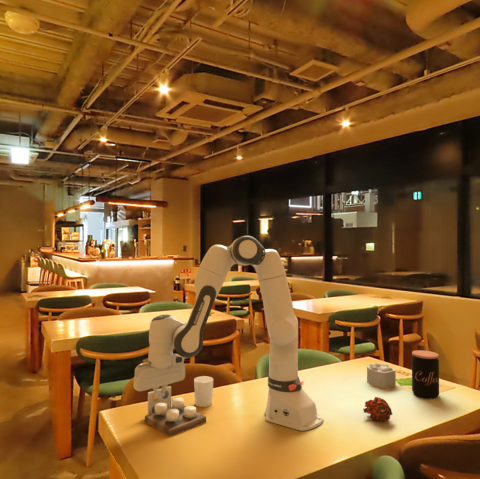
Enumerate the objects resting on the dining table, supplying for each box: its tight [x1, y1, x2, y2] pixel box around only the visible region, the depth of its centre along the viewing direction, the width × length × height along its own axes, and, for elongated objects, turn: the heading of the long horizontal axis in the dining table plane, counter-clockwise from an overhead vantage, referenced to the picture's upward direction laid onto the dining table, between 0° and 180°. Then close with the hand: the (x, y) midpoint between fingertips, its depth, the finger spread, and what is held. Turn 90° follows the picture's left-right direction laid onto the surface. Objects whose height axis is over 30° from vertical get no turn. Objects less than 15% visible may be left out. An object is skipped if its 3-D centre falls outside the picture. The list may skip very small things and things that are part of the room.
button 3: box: [171, 397, 185, 409], centre depth 150 cm, size 4×4×2 cm
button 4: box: [155, 403, 167, 415], centre depth 145 cm, size 4×4×2 cm
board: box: [144, 405, 207, 437], centre depth 145 cm, size 16×16×2 cm
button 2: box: [166, 409, 179, 421], centre depth 139 cm, size 4×4×2 cm
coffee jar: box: [411, 349, 440, 400], centre depth 172 cm, size 11×11×18 cm
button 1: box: [184, 405, 197, 418], centre depth 145 cm, size 4×4×2 cm
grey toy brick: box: [366, 362, 397, 389], centre depth 187 cm, size 10×13×9 cm
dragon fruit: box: [362, 396, 393, 422], centre depth 148 cm, size 8×8×12 cm
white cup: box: [193, 375, 214, 408], centre depth 162 cm, size 8×8×10 cm
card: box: [147, 385, 172, 415], centre depth 152 cm, size 1×10×9 cm, turn 134°
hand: (159, 397), depth 145 cm, fingers closed
